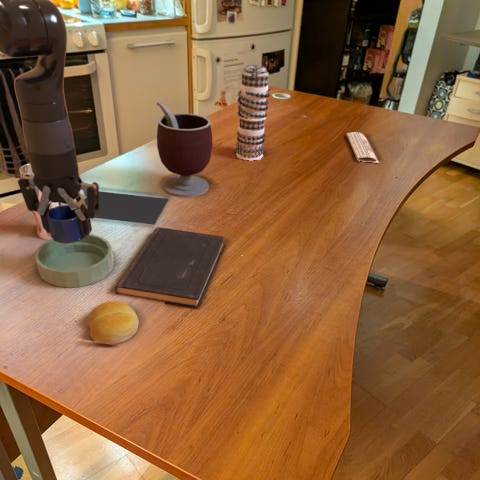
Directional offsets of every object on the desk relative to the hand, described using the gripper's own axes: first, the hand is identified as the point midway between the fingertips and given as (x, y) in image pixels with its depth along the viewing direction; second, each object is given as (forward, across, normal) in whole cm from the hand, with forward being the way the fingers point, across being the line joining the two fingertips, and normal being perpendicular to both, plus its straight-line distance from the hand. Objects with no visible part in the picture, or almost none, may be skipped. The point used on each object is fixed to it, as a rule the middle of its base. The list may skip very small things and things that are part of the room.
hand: (68, 233), depth 87 cm
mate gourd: (+8, -12, -43) cm, 46 cm away
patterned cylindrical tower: (+8, -27, -70) cm, 76 cm away
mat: (+8, 0, -26) cm, 27 cm away
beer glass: (+8, +10, -12) cm, 18 cm away
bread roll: (+8, -13, +16) cm, 22 cm away
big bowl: (+8, 0, 0) cm, 8 cm away
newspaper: (+8, -63, -86) cm, 107 cm away
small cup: (0, 0, 0) cm, 0 cm away
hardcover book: (+8, -19, -4) cm, 21 cm away
